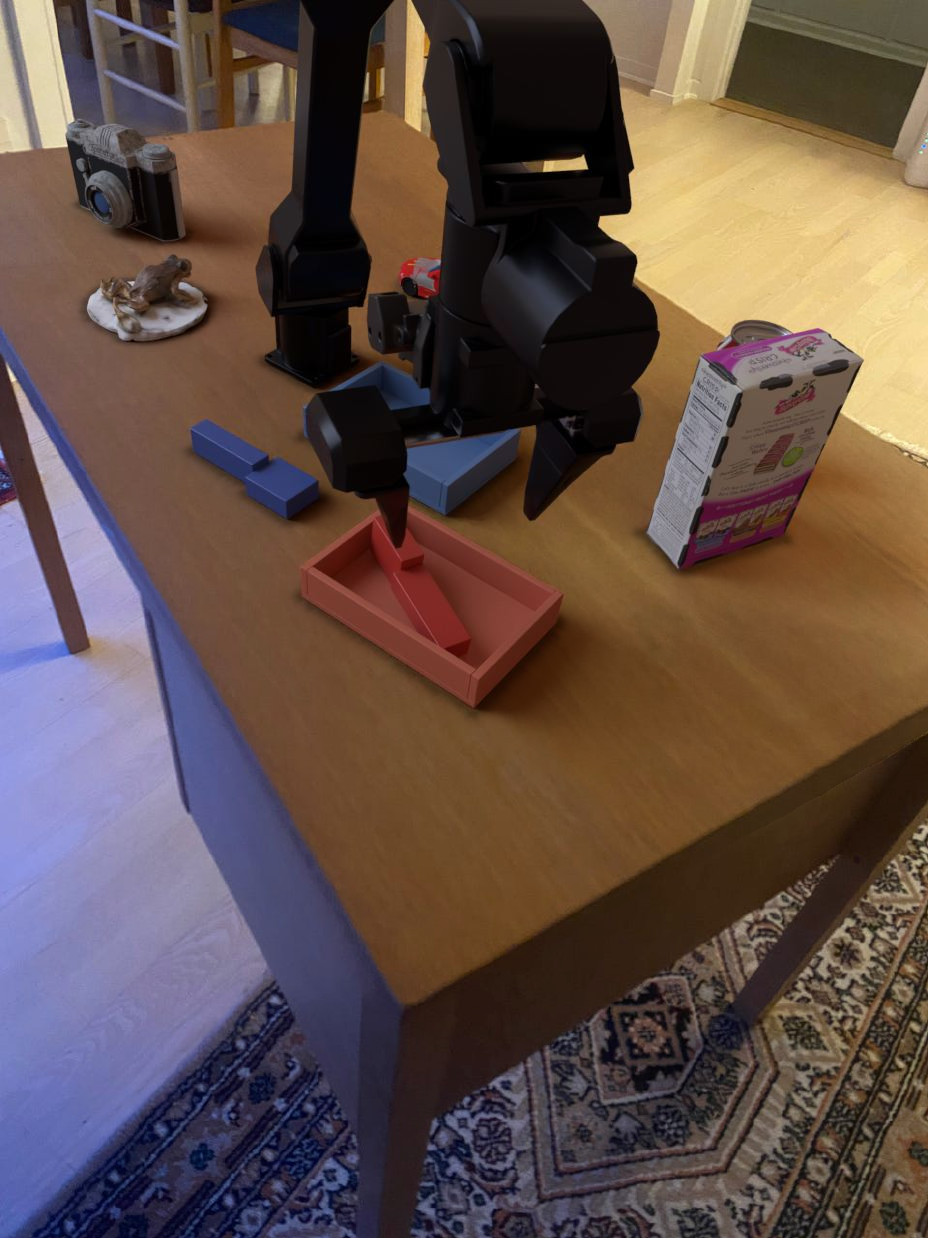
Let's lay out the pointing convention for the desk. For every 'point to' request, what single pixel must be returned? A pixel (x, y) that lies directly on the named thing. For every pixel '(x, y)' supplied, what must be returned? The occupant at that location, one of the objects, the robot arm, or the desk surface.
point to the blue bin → (438, 445)
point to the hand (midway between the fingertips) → (464, 529)
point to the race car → (420, 276)
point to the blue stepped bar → (256, 470)
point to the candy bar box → (749, 443)
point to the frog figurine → (149, 302)
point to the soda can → (752, 333)
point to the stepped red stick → (418, 590)
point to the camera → (126, 179)
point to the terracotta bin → (470, 581)
